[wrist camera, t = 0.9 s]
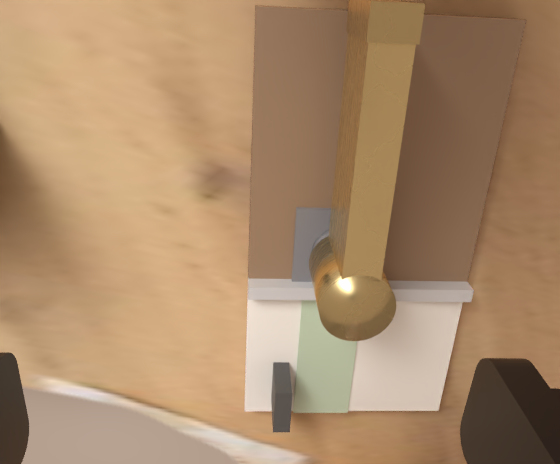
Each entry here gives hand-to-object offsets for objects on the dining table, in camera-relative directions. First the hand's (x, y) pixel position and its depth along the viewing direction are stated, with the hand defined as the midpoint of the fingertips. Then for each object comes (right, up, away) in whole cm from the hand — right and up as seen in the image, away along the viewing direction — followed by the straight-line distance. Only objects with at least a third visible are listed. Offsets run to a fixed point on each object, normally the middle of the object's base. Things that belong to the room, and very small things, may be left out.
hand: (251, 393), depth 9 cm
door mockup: (+5, +2, +22) cm, 23 cm away
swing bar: (+4, +6, +17) cm, 19 cm away
